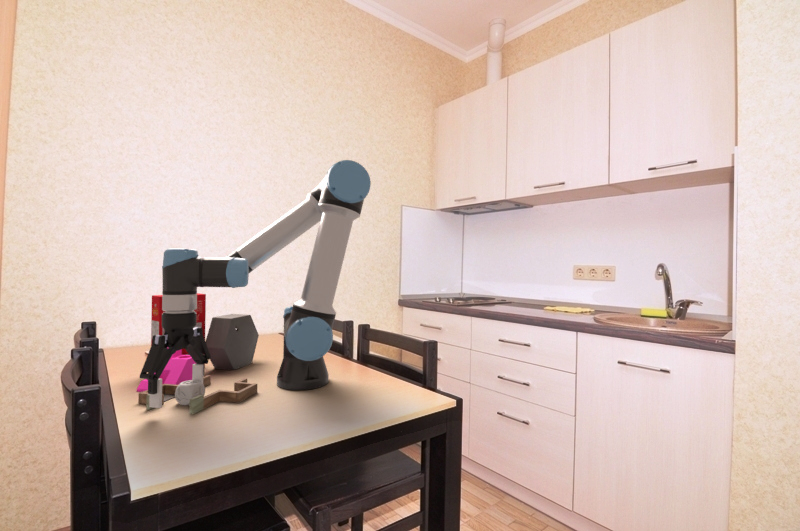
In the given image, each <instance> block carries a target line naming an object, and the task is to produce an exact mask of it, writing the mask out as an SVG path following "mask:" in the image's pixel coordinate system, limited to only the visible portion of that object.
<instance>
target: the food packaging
mask: <svg viewBox="0 0 800 531" xmlns="http://www.w3.org/2000/svg"><path fill="white" fill-rule="evenodd" d="M206 296H207V294H206V293H198V292H197V309H196V310H194V311H195V312H196V313H197V319H196V326H195V327H202V329H203V337H204V339H205V340H206V316H207V314H206V311H207V310H206V309H207V308H206V306H207V302H206V300H207V297H206ZM164 312H165V311H163V310H162V294H156V295H151V318H150V319H151V322H150V323H151V326H150V331H151V333H150V336H151V337H150V346H151V345H152V338H153V336H154V335H164V332H165V330H164V328H162V314H163V313H164ZM182 355H189V353H188V352H187V351H186V349H182ZM204 355H205V354H204ZM205 368H206V364H204V369H205Z"/></svg>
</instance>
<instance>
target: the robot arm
mask: <svg viewBox="0 0 800 531" xmlns="http://www.w3.org/2000/svg"><path fill="white" fill-rule="evenodd" d="M371 185H372V183H371V176H370V175H369V173H368V171H367V170H366V167H364V165H362V164H361V163H359V162H357V161H355V160H350V159H344V160H343V159H342V160H340V161H339V160H338V161H336V163H334V164H332V165H331V166H330V167H329V169H328V171H327V172H326V174H325V176H324V178H323V179H322V180H321V181H320V182H319V184H318V185H317V186H316V187H315V188H314V189H312V190H311V191H310V192H308V193H307V195H306V199H305V200H303V201H302V202H300V203H299V204H298V205H296V206H294V208H291V209H290V210H289V211H288V212H286V213H284V215H282V216H281V217H279V218H278V219H277V220H275V221H274V222H273V223H271V224H270V225H268V226H267V227H265V228H264V229H263V230H261V231H259V232H258V233H257V234H256V235H254V236H253V237H252V238H250V239H249V240H247V241H246V242H245V243H243V244H242V245H241V246H239V247H238V248H236V249H235V250H233V251H232V252H231V253H229V254H228V255H227V256H224V257H204V256H203V257H202V256H200V255H199V253H198V250H197V249H196V248H173V247H172V248H166V249H165V250H164V252H163V260H162V266H161V270H162V293H161V295H162V310H163V311H165V312H164V313H163V314H162V328H164V330H165V332H164V335H154V336H153V338H152V345H151V344H150V349H149V351H148V353H147V356H146V359H145V362H144V364H143V367H142V368H141V371H140V374H139V379H142V380H145V379H147V380H148V394H149V407H154V408H153V409H155V408H156V409H160V408H162V407H163V404H162V379H160V378H159V377H160V376H161V374H162V372H163V370H164V369H165V367H166V365H167V363H168V362H169V360H170V358H171V356H172V355H173V354H174V353H175V352H176V351H178V350H181V349H186V351H187V352H188V353H189V355H190V356H191V357H192V359H193V360H194V361H195V363H197V364H193V368H192V380H199V381H201V382H202V383H203V377H204V375H205V368H204V364H205V365H208V363H209V361H210V358H211V356H210V353H209V351H208V348H207V345H206V342H205V341H206V338H205V339H204V337H203V329H202V327H195V326H196V319H197V313H196V312H195V311H194V310H196V309H197V293H198V288H232V289H237V288H245V287H247V286H248V284H249V277H250V276H249V274H251V272H253V271H254V270H256V269H257V268H258V267H260V266H262V264H264V263H265V262H266V261H268V260H269V259H271V258H272V257H273V256H275V255H276V254H278V253H279V252H280V251H281V250H283V249H284V248H286V247H287V246H288V245H290V244H291V243H292V242H294V241H295V240H297V239H298V238H299V237H301V236H302V235H303V234H305V233H306V232H308V231H309V230H310V229H311V228H313V227H314V226H315V225H317V224H318V223H319V224H318V228H317V232H316V235H315V236H316V238H315V240H314V245H313V250H312V253H311V256H310V261H309V264H308V269H307V273H306V277H305V281H304V285H303V288H302V293H301V296H300V299H298V300H297V301H295V302H294V303H293V304H292V306H287V307H285V308H284V309H283V310H284V312H283V316H282V317H283V356H282V361H281V363H280V366H279V369H278V372H277V376H276V385H277V387H279V388H281V389H284V390H294V391H305V390H314V389H318V388H321V387H325V386H326V385H327V384H328V383H329V380H330V379H329V370H328V368H327V365H326V362H325V359H324V357H325V355H326V354H327V353H328V352H329V351H330V349H331V347H332V346H333V345H332V344H333V341H334V332H333V327H334V323H335V320H336V315H337V312H336V310H335V309H334V306H333V304H334V300H335V295H336V292H337V288H338V283H339V280H340V275H341V271H342V268H343V264H344V259H345V255H346V251H347V247H348V243H349V239H350V236H351V235H350V234H351V231H352V227H353V223H354V221H355V220H357V219H358V218H360V217H361V214H362V209H363V206H364V202H365V199H366V198H367V196H368V194H369V193H370V190H371ZM204 354H205V355H204ZM154 373H155V374H154Z"/></svg>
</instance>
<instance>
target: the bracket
mask: <svg viewBox="0 0 800 531" xmlns="http://www.w3.org/2000/svg"><path fill="white" fill-rule="evenodd" d="M193 364H197V363H195V361H194V360H193V359H192V357H191V356H190V355H182V349H181V350H178V351H176V352H175V353H174V354H173V355H172V356H171V358H170V360H169V362H168V363H167V365H166V367H165V369H164V370H163V372H162V374H161V376H160V377H159V378H160V379H162V384H175V385H179V384H180V383H181V382H184V381H188V380H192V368H193ZM154 374H155V373H154ZM146 390H148V380H147V379H142V380H141V381H140V382H139V384H138V386H137V388H136V392H138V393H140V392H143V391H146Z"/></svg>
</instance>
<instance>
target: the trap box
mask: <svg viewBox="0 0 800 531" xmlns="http://www.w3.org/2000/svg"><path fill="white" fill-rule="evenodd" d="M211 376H212V375H209V374H208V375H205V376H204V375H203V384H204V386H205V387H206V386H208V385H211V382H212V379H211V378H212V377H211ZM177 386H178V385H175V384H162V405H164V404H165V402H168V401H169V400H171V399H174V398H175V391H176V388H177ZM233 387H234V389H233V390H226V389H225V390H224V389H217V390H215V391H212V392H211V393H209V394H207V395H198V396H196V397H193V398H191V399H190V405H189V415H194V414H197V413H199V412H201V411H202V410H205V409H207V408H209V407H211V406H213V405H215V404H217V403H218V402H227V403H238V404H239V403H241V402H243V401H245V400H247V399H249V398H250V397H252V396H254V395H256V394H257V393H258V383H257V382H248V377H246V378H245V377H244V378H241V379H240V380H237V381H235V382H233ZM137 403H138V404H145V407H146V410H148V411H150V410H153V409H155V408H154V407H149V394H148V390H146V391H143V392H138V401H137Z"/></svg>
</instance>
